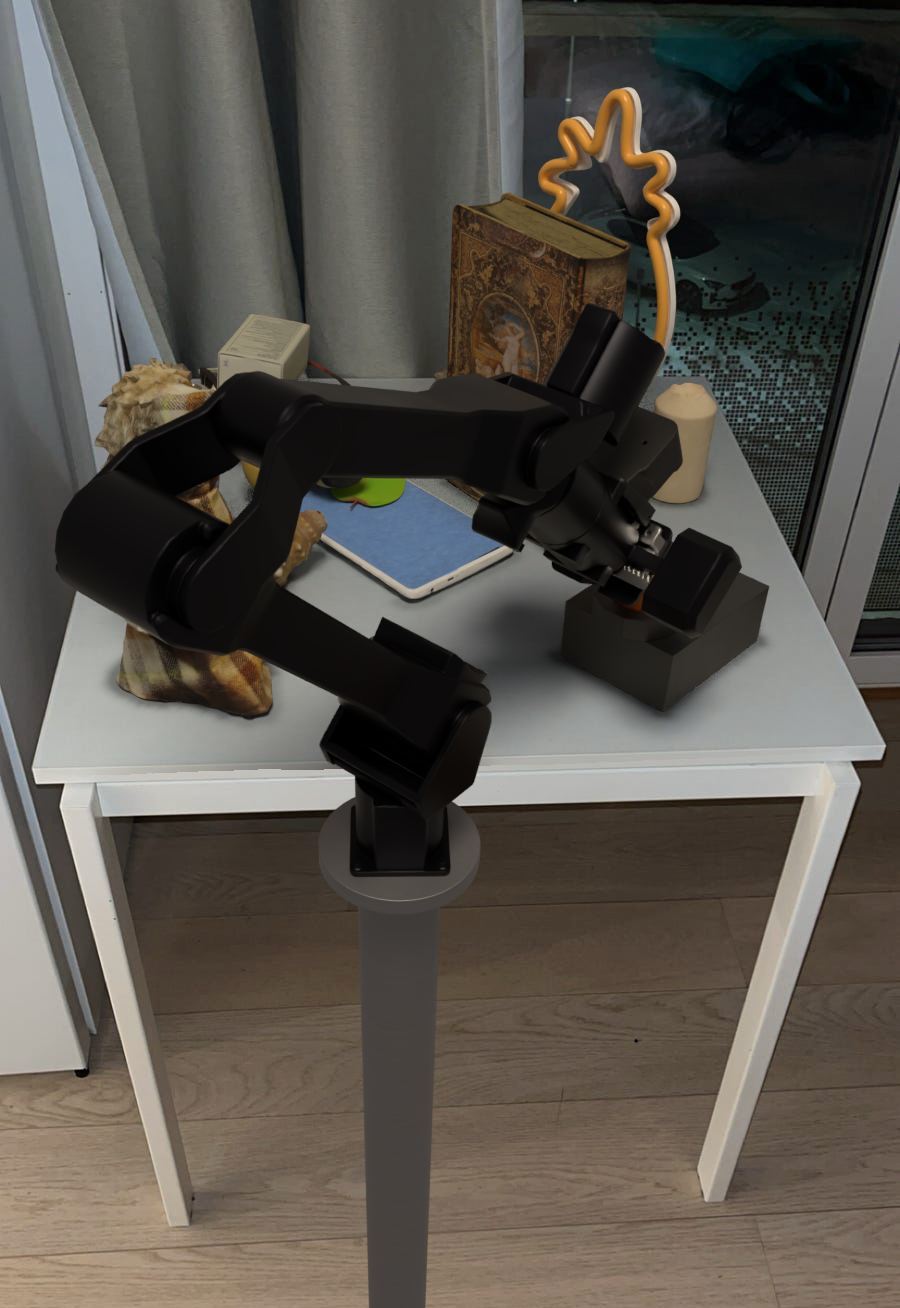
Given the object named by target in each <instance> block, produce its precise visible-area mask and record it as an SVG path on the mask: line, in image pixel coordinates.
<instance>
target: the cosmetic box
mask: <svg viewBox="0 0 900 1308" xmlns="http://www.w3.org/2000/svg"><path fill="white" fill-rule="evenodd" d="M310 338H311V326H310V324H307V323H304V322H298V321H293V320H289V319H285V318H278V317H273V316H268V315H262V314H255V313H250V315H248V317H247V318H246V319H244V321H243V322H242V324H241V325H240V326H239V327H238V329H237V330H236V331H235V333H234V334H233V335H232V336H231V337H230V338H229V339H228V340H227V342H226V343H225V344H224V345H223V347H222V348H221V349H220V350H219V351H218V353H217V368H218V373H217V376H216V378H217V389H218V388H219V387H220V386H221V385H222V384H223V383H224V382H225V381H226V380H227V379H229V378H230V377H232V376H233V375H234V374H237V373H243V372H254V371H261V372H265V373H267V374H270V375H272V376H274V377H277V378H279V379H289V380H299V379H300V377H301V376H302V375H303V373H304V372H305V370H306V369H307V366H308V365H307V361H309V360H308V359H309V350H310Z"/></svg>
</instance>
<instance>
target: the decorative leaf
mask: <svg viewBox="0 0 900 1308" xmlns="http://www.w3.org/2000/svg"><path fill="white" fill-rule="evenodd" d="M405 484H406V479H401V478H362V479H361V480H360V481H359V482H358V483H357V484H355V485H353V486H350V487H347V488H330V491H331V493H332V495H333V496H334V497H335V498H337V499H339V500H342V501H355V502H354V503H353V504H352V505H351V506H350V508H352V507H353V506H354V505H355V504H356V503H357V502H359V503H362V504H364V505H367V506H379V505H384V504H388V503H390V502H393V501H395V500H397V499H398V498H399V497H400V496H401V495H402V494H403V492H404V489H405Z"/></svg>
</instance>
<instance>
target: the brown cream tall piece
mask: <svg viewBox="0 0 900 1308" xmlns="http://www.w3.org/2000/svg"><path fill="white" fill-rule="evenodd" d="M148 362H149V364H142V363H139V364H133V366H132V369H131V370H130V371H125V373H124V374H123V375H122V377H121V378H120V380H119V381H118V382H116V383H114V384H113V385H112V386H111V393H110V394H109V395H107V397H105V398H103V400H102V401H101V402H100V403H99V404H98V405H97V407H99V408H100V407H101V408H105V412H104V415H103V426H102V428H101V430H100V431H99V433H98V434H97V435H96V438H95V440H94V445H93V446H94V447H98V448H104V449H105V450H106V451H107V453H108V455H107V458H106V461H105V462H104V464H103V465H102V466H100V467H99V470H101V469H102V468H103V467H104V466H105V465H106V464H107V463H108V462H109V461H110V460H111V459H112V458H113V457H114V456H115V455H116V454H117V453H118V452H119V451H120V450H121V449H122V448H123V447H124V446H125V445H126V444H127V443H128V442H130V441H131V440H132V439H134V438H136V437H138V436H140V435H142V434H144V433H146V432H148V431H150V430H152V429H155V428H157V427H159V426H161V425H163V424H165V423H167V422H169V421H172V420H174V419H176V418H178V417H180V416H182V415H184V414H186V413H189V412H191V411H193V410H195V409H197V408H199V407H200V406H201V405H202V404H203V403H204V402H205V401H206V400H207V399H208V398H209V397H210V396H211V395H212V394H213V393H214V392H215V391H216V390H217V389H215V387H214V385H213V386H212V388H211V389H209V390H202V387H201V386H199V385H197V384H195V385H194V386H193V385H192V383H191V381H192V379H193V373H192V371H191V370H189V369H188V368H187V366H186V365H185V364H184V363H183V362H182V363H177V364H173V363H172V362H171V361H167V360H161V361H157V357H151V358H148ZM219 476H220V477H221V475H218V476H216V477H214V478H212V479H210V480H208V481H206V482H204V483H202V484H199V485H197V486H195V487H193V488H191V489H189V490H187V491H185V492H182V493H180V494H178V495H176V496H175V497H177V498H179V499H181V500H183V501H185V502H187V503H189V504H191V505H193V506H195V507H197V508H199V509H201V510H203V511H205V512H207V513H209V514H211V515H213V516H215V517H217V518H219V519H221V520H223V521H225V522H227V523H229V524H231V523H232V522H233V519H232V517H233V515H232V513H231V511H230V508H229V505H228V504H227V502H226V500H225V499H224V496H223V495H222V493H221V492H220V488H219V489H218V486H217V483H216V482H217V481H218V479H219ZM124 621H125V622H126V626H125V634H124V638H123V641H122V642H123V644H122V646H123V647H122V655H121V660H120V663H119V669H118V672H117V676H116V678H115V679H116V680H115V681H116V683H117V684H118V686H119V688H121V689H122V690H124V691H127V692H129V693H131V694H133V695H134V696H135V697H138V698H141V699H144V700H154V701H162V702H164V703H166V702H180V703H181V702H182V703H187V704H200V705H204V706H206V707H208V708H209V707H210V708H215V709H219V710H222V711H225V712H227V713H230V714H233V715H242V716H243V717H251V718H252V717H254V716H255V715H261V714H265V713H268V712H269V710H270V707H271V706H272V704H273V695H272V677H271V672H270V668H269V667H268V665H267V664H266V662H265V661H264V660H262V659H260V658H258V657H256V656H254V655H252V654H250V653H248V652H245V651H240V650H237V651H235V652H233V653H230V654H228V655H225V656H218V655H213V654H207V653H201V652H196V651H190V650H184V649H179V648H176V647H172V646H170V645H168V644H167V643H165V642H163V641H162V640H160V639H158V638H156V637H155V636H153V635H151V634H150V633H148V632H146V631H145V630H143V629H141V628H139V627H138V626H136V625H134V624H133V623H131V622H129V621H127V620H126V619H124Z"/></svg>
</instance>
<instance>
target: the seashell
mask: <svg viewBox="0 0 900 1308" xmlns="http://www.w3.org/2000/svg"><path fill="white" fill-rule="evenodd" d="M235 518H236V517H234V516H232V519H233V520H234V519H235ZM327 526H328V524H327V522H326V519H325V516H324V514H323V513H322V512H320V511H318V510H316V511H315V510H306V511H304V512H300V514H299V518H298V522H297V526H296V530H295V534H294V539H293V543H292V547H291V551H290V554H289V556H288V558H287V560H286V561H285V562H284V564H283V565H282V566H281V567H280V568H279V569H278V570H277V571H276V572H275V574H274V578H275V581H276V582H277V583H278V584H279V585H280V586H281V587H282V586H284V585H285V584H287V582H288V577H289V574H291V571H292V570H294V567H297V566H299V565H302V564H303V563H305V562H306V561H308V560H309V558H310V556H311V553H312V549H313V546H314V545H316V544H318V543H319V542H320V541H321V540H320V539H321V536H322V532H324V531H325V530H326V529H327Z"/></svg>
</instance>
